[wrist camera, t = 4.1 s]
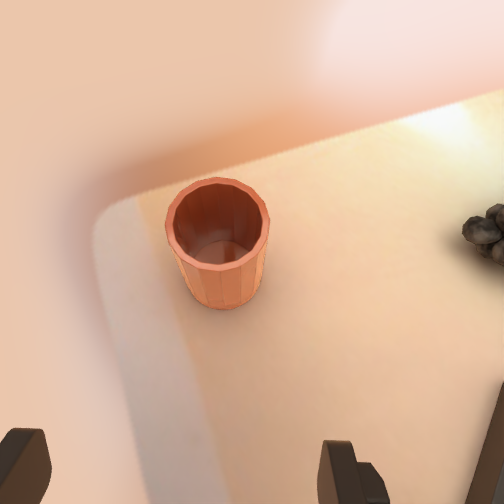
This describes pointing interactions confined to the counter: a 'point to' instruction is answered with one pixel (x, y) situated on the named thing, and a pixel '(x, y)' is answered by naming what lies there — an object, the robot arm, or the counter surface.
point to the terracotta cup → (219, 240)
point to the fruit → (487, 233)
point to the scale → (491, 463)
